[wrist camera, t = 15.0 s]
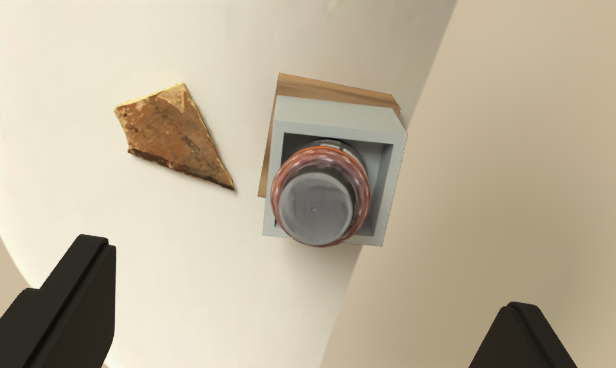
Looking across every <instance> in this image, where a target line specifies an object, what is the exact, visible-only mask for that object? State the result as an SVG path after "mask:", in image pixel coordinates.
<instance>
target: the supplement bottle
mask: <svg viewBox="0 0 616 368" xmlns="http://www.w3.org/2000/svg"><path fill="white" fill-rule="evenodd" d="M270 202H271V208H272V212H273V215H274V217H275V219H276V221H277V223H278V224H279V226H280V227H281V228H282V229H283V231H284V232H285V233H286V234H287V235H289V236H290V237H291V238H292V239H294V240H296V241H298V242H300V243H302V244H305V245H308V246H313V247H330V246H333V245H337V244H340V243H342V242H344V241H346V240H348V239H349V238H350V237H352V236H353V235H354V234H355V233H356V232H357V231H358V230H359V229H360V227H361V226H362V224H363V222H364V221H365V218H366V216H367V214H368V210H369V205H370V189H369V180H368V172H367V167H366V164H365V162H364V160H363V158H362V156H361V155H360V154H359V152H358V151H357V150H356V149H355V148H354V147H352V146H351V145H350V144H348V143H346V142H344V141H342V140H338V139H334V138H322V139H317V140H314V141H311V142H309V143H308V144H306V145H304V146H303V147H302V148H300V149H299V150H298V151H297V152H296V153H294V154H293V155H292V156H291V157H290V158H289V159H288V160H287V161H286V162H285V163H284V164H283V165H282V166H281V167H280V168H279V170H278V171H277V173H276V175H275V177H274V179H273V182H272V186H271V192H270Z"/></svg>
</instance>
